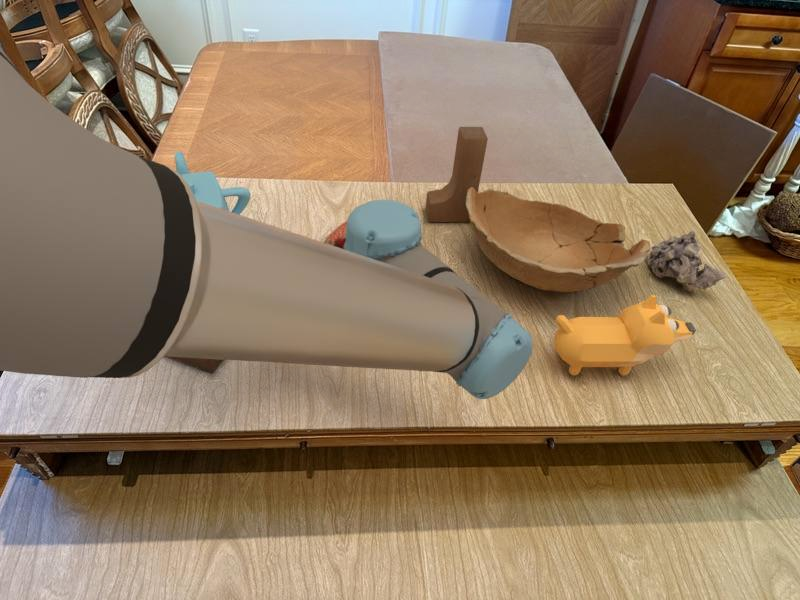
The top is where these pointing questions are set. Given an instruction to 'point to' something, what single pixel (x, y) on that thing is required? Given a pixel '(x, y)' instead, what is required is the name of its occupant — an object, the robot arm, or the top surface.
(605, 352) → the dog
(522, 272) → the ceramic bowl
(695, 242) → the mineral specimen
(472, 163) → the wooden block
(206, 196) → the teapot
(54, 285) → the robot arm
